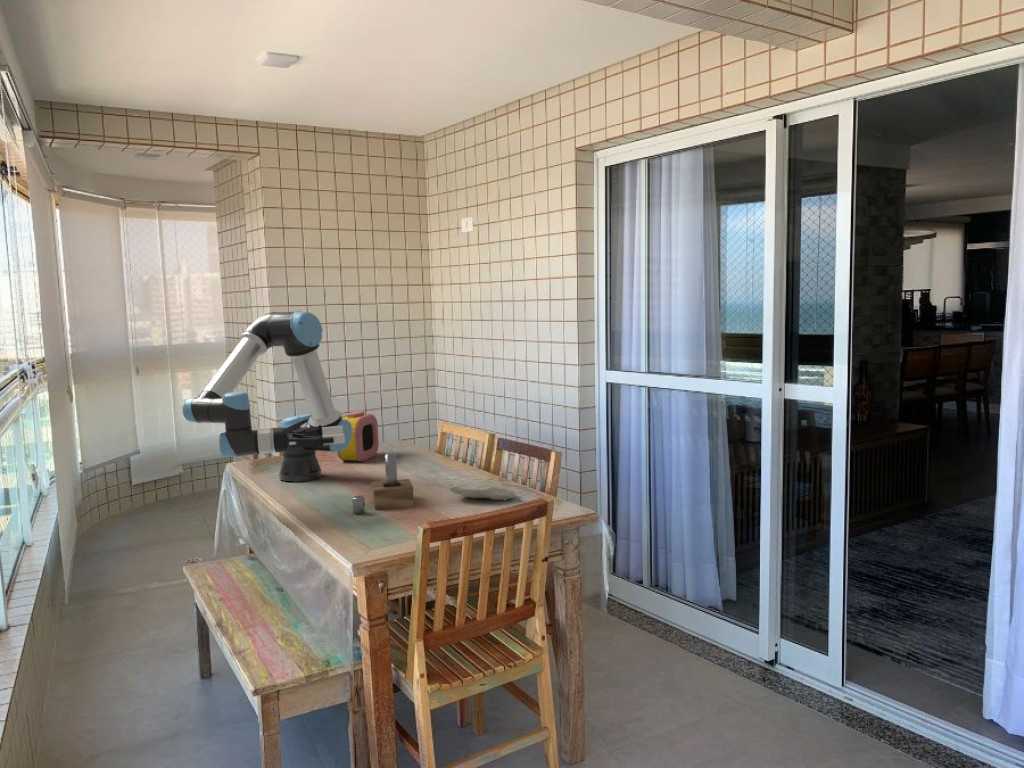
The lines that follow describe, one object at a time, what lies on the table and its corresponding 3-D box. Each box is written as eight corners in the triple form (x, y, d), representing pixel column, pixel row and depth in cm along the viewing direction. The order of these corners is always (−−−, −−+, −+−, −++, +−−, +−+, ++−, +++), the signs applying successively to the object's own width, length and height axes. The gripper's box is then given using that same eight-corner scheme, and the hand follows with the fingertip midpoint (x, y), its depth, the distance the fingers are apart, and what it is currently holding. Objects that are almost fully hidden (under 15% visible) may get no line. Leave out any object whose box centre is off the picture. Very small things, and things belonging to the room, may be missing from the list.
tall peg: (386, 502, 248) (384, 453, 246) (398, 501, 248) (395, 452, 247) (387, 505, 244) (385, 455, 242) (399, 504, 245) (396, 454, 243)
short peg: (352, 512, 237) (352, 496, 237) (364, 511, 238) (363, 495, 238) (353, 515, 234) (352, 499, 233) (365, 514, 235) (364, 498, 234)
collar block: (372, 500, 251) (371, 482, 250) (409, 496, 254) (408, 478, 253) (375, 509, 239) (374, 490, 238) (413, 506, 242) (412, 487, 241)
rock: (485, 491, 266) (432, 490, 255) (488, 474, 265) (435, 471, 255) (520, 507, 245) (464, 506, 235) (523, 488, 245) (466, 486, 235)
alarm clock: (360, 464, 305) (357, 416, 302) (335, 463, 308) (332, 415, 306) (380, 454, 322) (378, 409, 320) (356, 454, 325) (354, 408, 323)
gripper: (276, 444, 249) (343, 437, 255) (272, 461, 225) (346, 454, 231) (274, 421, 248) (341, 415, 253) (270, 436, 224) (344, 429, 229)
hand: (343, 434), depth 242 cm, fingers open, 13 cm apart
